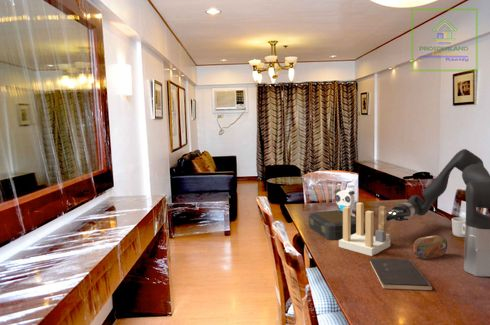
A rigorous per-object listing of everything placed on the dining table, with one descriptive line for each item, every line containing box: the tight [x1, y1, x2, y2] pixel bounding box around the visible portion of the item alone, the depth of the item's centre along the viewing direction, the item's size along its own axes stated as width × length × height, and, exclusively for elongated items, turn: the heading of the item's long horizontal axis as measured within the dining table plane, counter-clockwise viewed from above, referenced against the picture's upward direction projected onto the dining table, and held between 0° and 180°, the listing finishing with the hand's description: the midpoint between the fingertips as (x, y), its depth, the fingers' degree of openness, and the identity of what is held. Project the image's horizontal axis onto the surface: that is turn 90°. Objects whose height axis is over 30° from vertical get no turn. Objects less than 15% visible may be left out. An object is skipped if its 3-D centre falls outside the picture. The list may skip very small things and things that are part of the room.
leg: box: [377, 205, 388, 241], centre depth 157 cm, size 2×2×15 cm
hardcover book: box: [368, 257, 434, 291], centre depth 129 cm, size 16×23×2 cm
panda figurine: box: [333, 188, 356, 217], centre depth 211 cm, size 12×11×15 cm
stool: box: [338, 201, 391, 257], centre depth 158 cm, size 16×18×18 cm
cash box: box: [308, 209, 356, 241], centre depth 182 cm, size 25×20×8 cm
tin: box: [412, 235, 448, 260], centre depth 145 cm, size 15×3×8 cm, turn 105°
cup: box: [451, 216, 466, 238], centre depth 167 cm, size 11×8×8 cm
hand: (385, 218), depth 159 cm, fingers closed
